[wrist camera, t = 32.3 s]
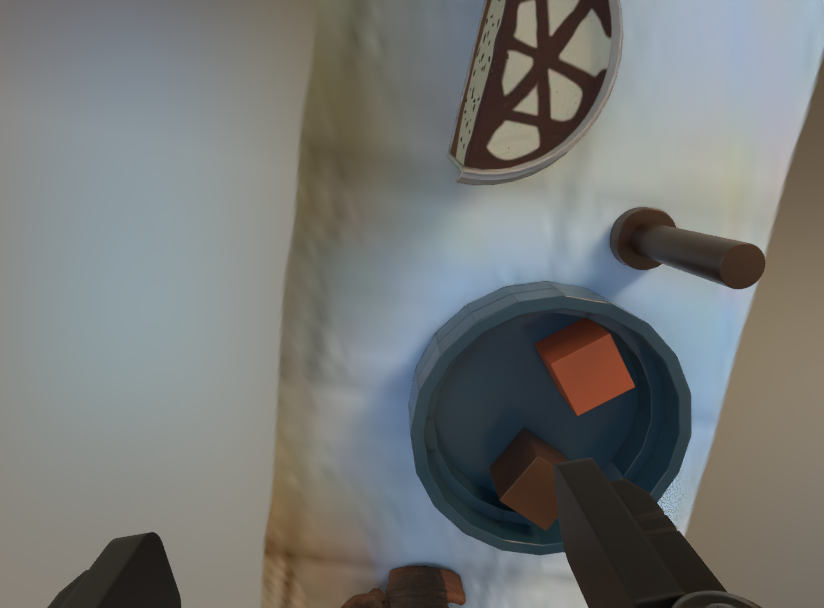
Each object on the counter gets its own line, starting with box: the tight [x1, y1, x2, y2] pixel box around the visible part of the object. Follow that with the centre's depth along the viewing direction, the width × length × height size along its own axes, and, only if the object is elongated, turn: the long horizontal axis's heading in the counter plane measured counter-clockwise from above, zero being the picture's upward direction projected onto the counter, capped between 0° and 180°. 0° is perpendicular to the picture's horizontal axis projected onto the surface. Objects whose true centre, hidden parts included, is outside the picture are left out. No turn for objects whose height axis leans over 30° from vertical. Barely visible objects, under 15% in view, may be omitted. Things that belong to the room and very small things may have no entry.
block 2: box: [534, 318, 635, 416], centre depth 35 cm, size 4×4×4 cm
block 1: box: [489, 428, 568, 531], centre depth 37 cm, size 4×4×4 cm
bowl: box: [409, 281, 691, 555], centre depth 36 cm, size 18×18×5 cm
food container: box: [447, 0, 623, 185], centre depth 29 cm, size 12×6×10 cm, turn 167°
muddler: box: [610, 207, 765, 289], centre depth 31 cm, size 4×4×11 cm
